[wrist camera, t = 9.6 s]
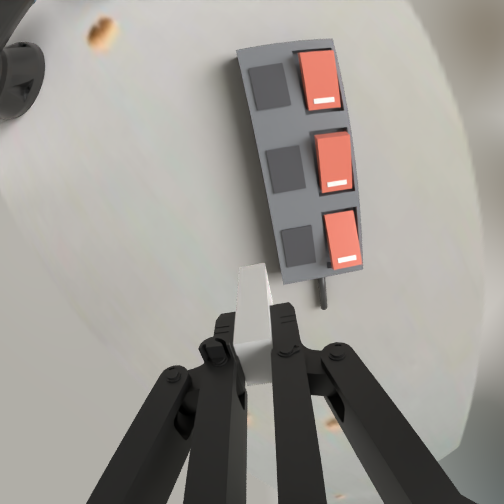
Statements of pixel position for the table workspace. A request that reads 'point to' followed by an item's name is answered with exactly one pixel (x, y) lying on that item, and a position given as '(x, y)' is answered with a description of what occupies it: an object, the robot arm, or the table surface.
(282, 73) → the power strip
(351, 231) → the rocker
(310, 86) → the rocker
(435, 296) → the table surface
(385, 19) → the table surface
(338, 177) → the rocker
